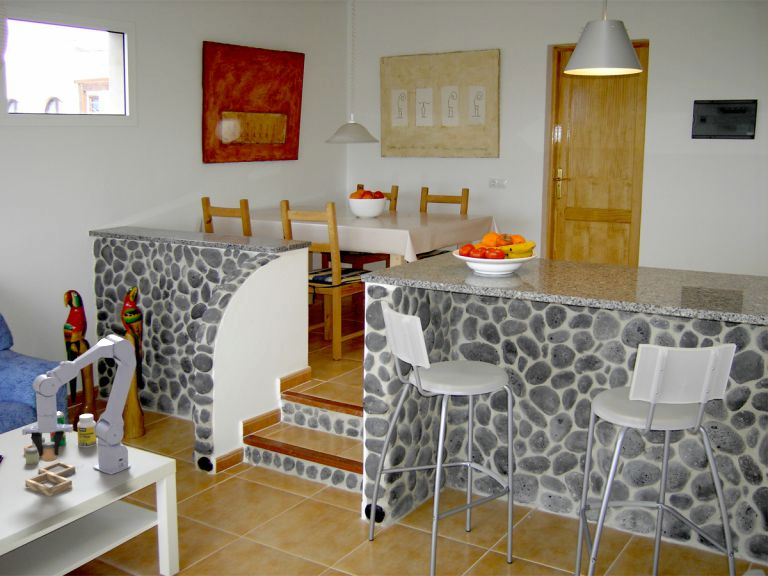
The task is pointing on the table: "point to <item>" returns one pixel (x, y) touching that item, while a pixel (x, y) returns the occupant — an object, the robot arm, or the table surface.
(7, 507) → the table surface
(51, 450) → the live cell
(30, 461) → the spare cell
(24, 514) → the table surface
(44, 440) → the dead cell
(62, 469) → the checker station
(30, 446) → the copper square frame
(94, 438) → the pill bottle
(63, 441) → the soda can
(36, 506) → the table surface
